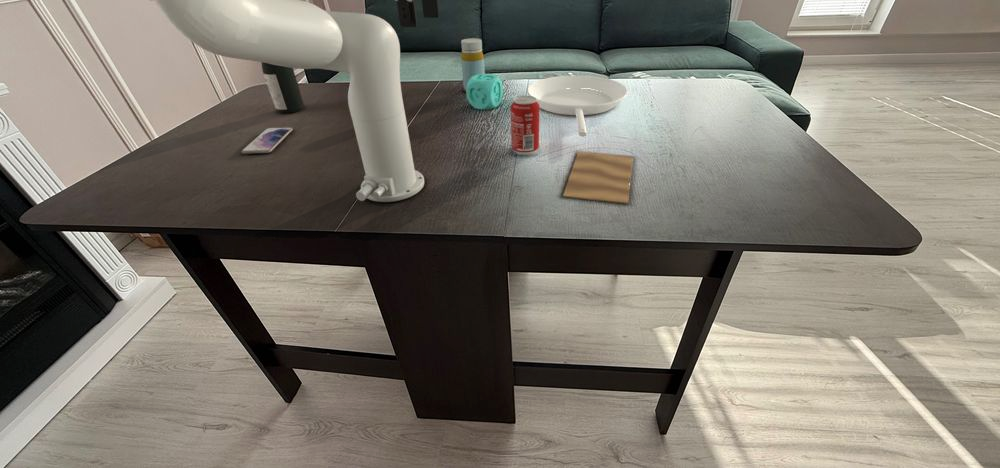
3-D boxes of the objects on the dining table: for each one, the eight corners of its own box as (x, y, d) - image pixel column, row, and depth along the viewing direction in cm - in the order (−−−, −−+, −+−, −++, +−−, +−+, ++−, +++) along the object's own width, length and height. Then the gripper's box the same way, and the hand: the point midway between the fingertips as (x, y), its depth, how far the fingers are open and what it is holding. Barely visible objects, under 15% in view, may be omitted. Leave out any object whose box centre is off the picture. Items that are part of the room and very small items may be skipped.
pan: (618, 87, 134) (620, 74, 132) (644, 145, 98) (646, 129, 96) (528, 88, 137) (528, 75, 134) (521, 145, 101) (521, 129, 99)
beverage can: (539, 145, 100) (540, 94, 93) (538, 156, 95) (539, 104, 88) (512, 145, 101) (511, 94, 94) (510, 156, 96) (509, 104, 89)
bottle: (460, 89, 139) (456, 39, 130) (480, 85, 141) (477, 37, 132) (468, 95, 133) (464, 43, 125) (489, 91, 136) (486, 40, 127)
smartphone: (293, 127, 114) (269, 150, 101) (294, 130, 114) (270, 153, 102) (266, 127, 114) (239, 151, 101) (267, 130, 114) (241, 154, 102)
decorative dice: (480, 99, 129) (478, 72, 125) (503, 102, 126) (503, 74, 122) (467, 107, 124) (464, 79, 119) (491, 111, 121) (489, 82, 116)
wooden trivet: (627, 204, 78) (628, 202, 78) (562, 196, 81) (562, 195, 81) (632, 157, 93) (632, 156, 93) (578, 152, 96) (578, 151, 96)
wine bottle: (281, 116, 123) (241, -1, 106) (273, 109, 128) (233, -3, 111) (308, 109, 127) (274, -4, 110) (300, 103, 132) (266, -6, 115)
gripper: (402, -97, 62) (419, 31, 72) (447, -93, 76) (456, 14, 85) (357, -94, 64) (380, 30, 74) (409, -91, 77) (422, 14, 87)
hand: (420, 21), depth 80 cm, fingers open, 9 cm apart
